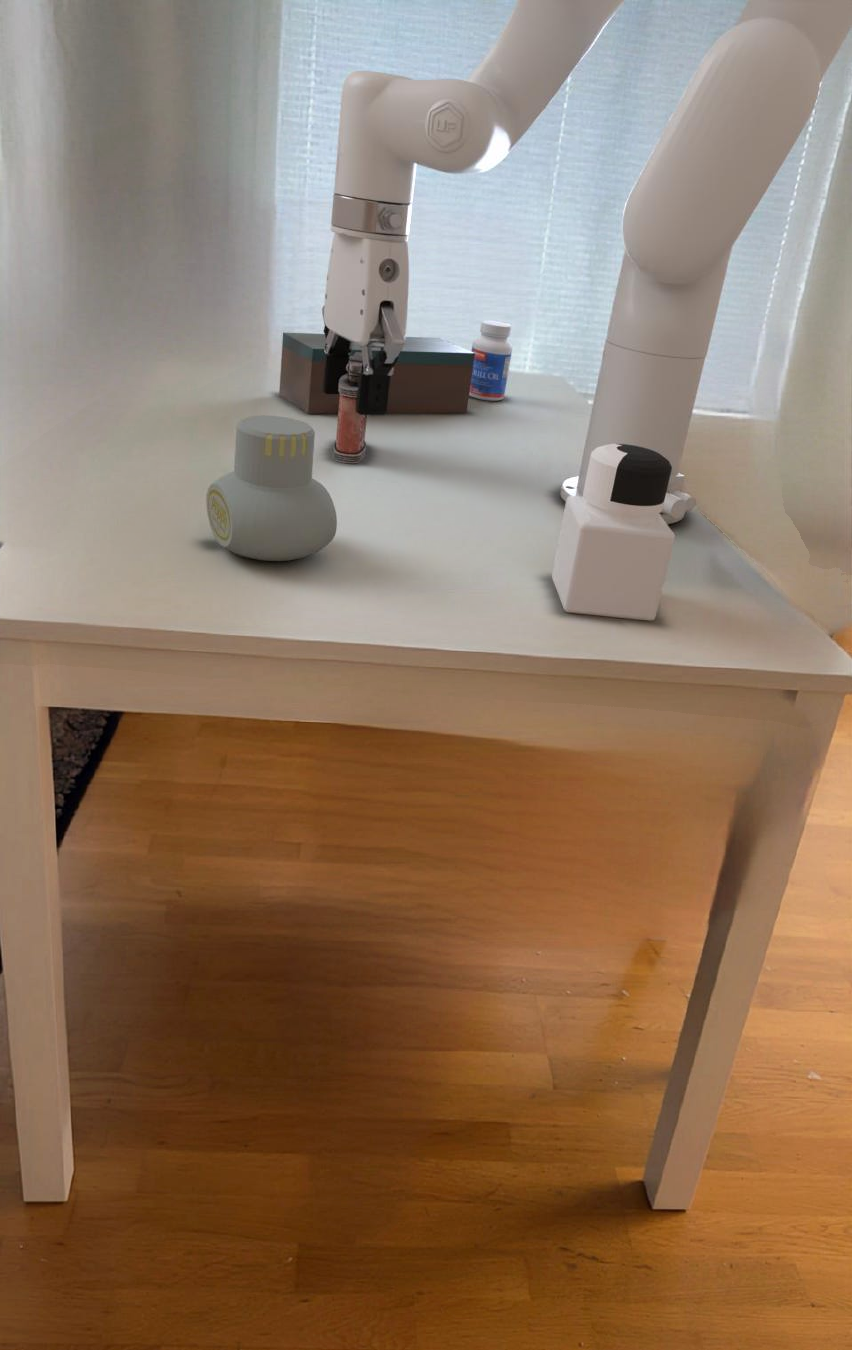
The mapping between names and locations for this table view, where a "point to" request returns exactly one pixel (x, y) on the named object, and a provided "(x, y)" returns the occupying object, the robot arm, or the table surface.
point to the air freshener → (272, 494)
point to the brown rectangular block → (419, 383)
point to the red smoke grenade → (350, 416)
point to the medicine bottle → (616, 536)
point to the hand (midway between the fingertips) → (353, 402)
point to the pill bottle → (491, 361)
